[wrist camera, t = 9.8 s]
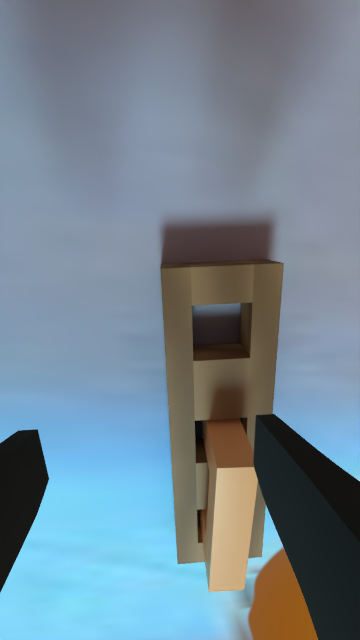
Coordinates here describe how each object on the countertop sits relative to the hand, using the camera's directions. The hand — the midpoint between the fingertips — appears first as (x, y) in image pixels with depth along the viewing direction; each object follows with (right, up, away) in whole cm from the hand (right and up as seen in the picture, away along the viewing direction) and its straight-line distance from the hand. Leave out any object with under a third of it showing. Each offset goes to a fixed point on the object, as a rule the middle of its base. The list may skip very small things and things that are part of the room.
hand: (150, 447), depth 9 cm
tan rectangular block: (+4, -7, +13) cm, 16 cm away
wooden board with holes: (+4, -3, +12) cm, 13 cm away
